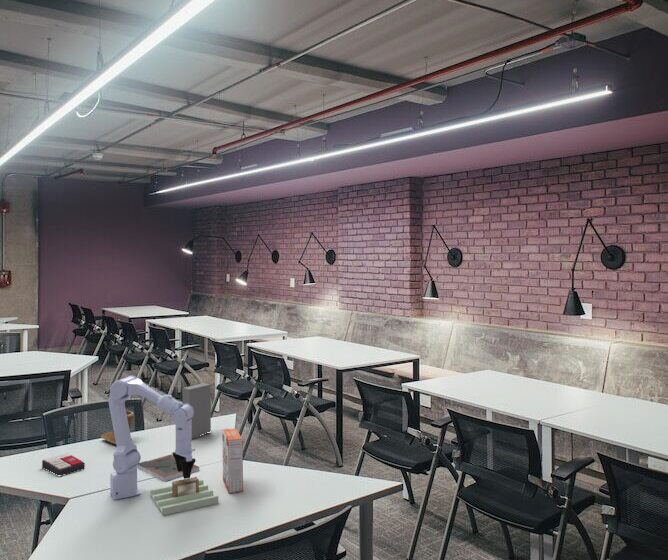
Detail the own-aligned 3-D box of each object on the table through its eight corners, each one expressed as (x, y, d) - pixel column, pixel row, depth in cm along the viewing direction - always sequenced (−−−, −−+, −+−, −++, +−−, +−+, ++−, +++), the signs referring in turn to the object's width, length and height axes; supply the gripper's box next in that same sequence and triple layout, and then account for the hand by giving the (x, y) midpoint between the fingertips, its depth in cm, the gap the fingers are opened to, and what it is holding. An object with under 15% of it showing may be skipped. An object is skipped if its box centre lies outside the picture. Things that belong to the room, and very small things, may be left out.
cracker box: (221, 480, 232) (221, 428, 231) (236, 478, 234) (236, 427, 233) (227, 494, 219) (227, 439, 218) (243, 491, 221) (243, 438, 220)
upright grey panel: (202, 431, 296) (202, 382, 295) (211, 433, 292) (210, 384, 291) (181, 438, 285) (181, 387, 283) (189, 440, 281) (189, 389, 280)
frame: (174, 500, 210) (174, 484, 210) (172, 497, 213) (172, 481, 213) (198, 495, 215) (198, 479, 215) (196, 492, 218) (196, 476, 218)
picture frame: (136, 469, 245) (164, 483, 230) (136, 463, 245) (163, 477, 230) (171, 459, 257) (199, 472, 242) (171, 453, 257) (199, 466, 242)
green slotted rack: (163, 515, 201) (163, 508, 201) (150, 496, 217) (150, 489, 216) (218, 503, 211) (218, 496, 211) (202, 485, 227) (202, 479, 227)
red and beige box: (59, 468, 235) (41, 458, 244) (59, 478, 235) (41, 468, 244) (85, 461, 243) (67, 451, 252) (85, 471, 244) (67, 461, 253)
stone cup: (138, 442, 278) (138, 411, 277) (114, 448, 269) (114, 416, 269) (123, 435, 288) (123, 405, 288) (100, 440, 280) (100, 410, 279)
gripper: (200, 442, 209) (200, 479, 209) (188, 431, 221) (188, 466, 222) (181, 445, 205) (181, 482, 206) (170, 434, 217) (170, 469, 218)
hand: (183, 474), depth 213 cm, fingers open, 7 cm apart
